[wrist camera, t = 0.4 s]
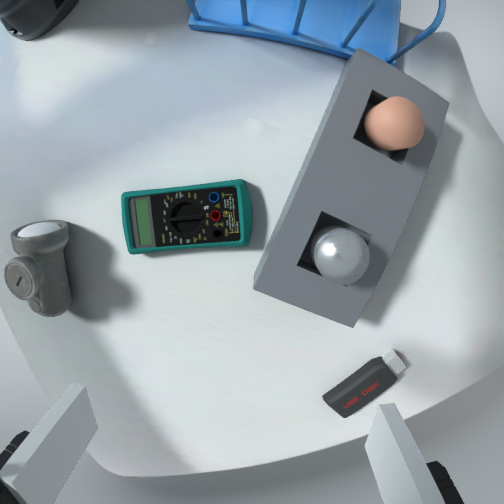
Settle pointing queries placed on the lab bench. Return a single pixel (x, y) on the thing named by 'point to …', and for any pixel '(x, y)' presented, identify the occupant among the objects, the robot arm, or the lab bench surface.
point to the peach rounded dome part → (394, 124)
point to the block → (350, 191)
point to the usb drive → (365, 384)
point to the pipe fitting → (40, 267)
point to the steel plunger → (339, 254)
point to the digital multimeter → (187, 217)
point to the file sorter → (314, 23)
